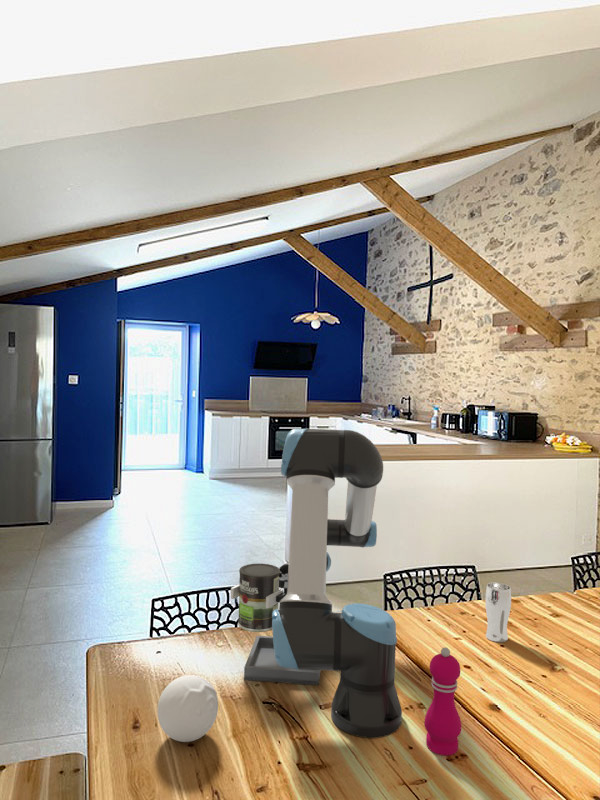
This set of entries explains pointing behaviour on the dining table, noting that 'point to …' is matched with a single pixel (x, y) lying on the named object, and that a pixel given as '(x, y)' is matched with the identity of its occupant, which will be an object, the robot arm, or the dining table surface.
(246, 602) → the coffee can
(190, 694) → the decorative ball
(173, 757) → the dining table surface
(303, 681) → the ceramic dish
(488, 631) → the beer glass
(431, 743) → the pepper mill
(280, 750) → the dining table surface
